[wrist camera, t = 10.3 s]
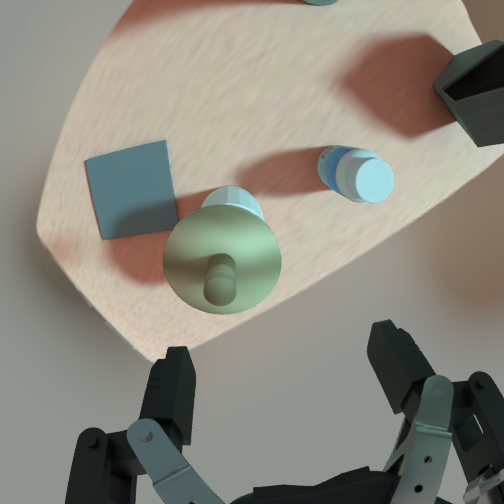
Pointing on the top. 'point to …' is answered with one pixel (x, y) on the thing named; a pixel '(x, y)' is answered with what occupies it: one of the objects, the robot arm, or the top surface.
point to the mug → (234, 199)
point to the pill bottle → (355, 173)
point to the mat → (133, 191)
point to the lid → (222, 259)
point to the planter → (476, 92)
